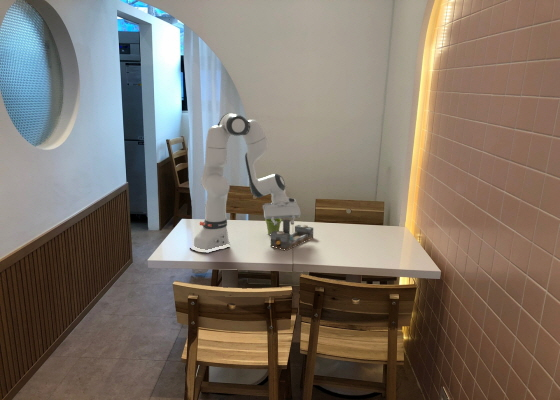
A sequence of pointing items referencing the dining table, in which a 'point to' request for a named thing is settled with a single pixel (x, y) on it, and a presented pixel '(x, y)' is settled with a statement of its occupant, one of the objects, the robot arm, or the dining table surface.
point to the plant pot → (271, 225)
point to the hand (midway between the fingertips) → (284, 224)
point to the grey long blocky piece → (299, 236)
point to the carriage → (287, 228)
